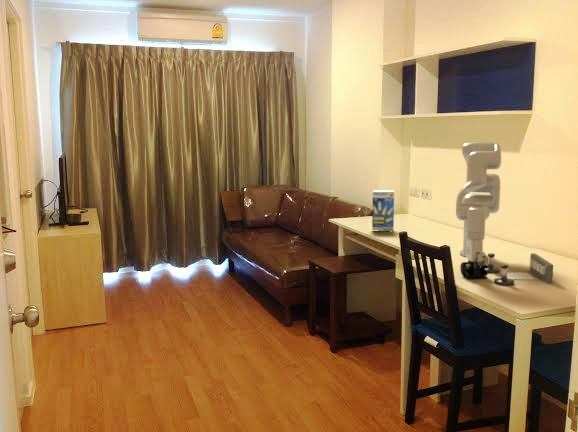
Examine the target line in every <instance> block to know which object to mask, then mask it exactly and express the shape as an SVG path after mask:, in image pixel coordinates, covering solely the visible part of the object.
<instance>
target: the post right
mask: <svg viewBox="0 0 578 432" xmlns="http://www.w3.org/2000/svg"><path fill="white" fill-rule="evenodd" d="M500 268H501V269H500V271H501V272H500V273H501V274H500V277H497V278H496V277H495V278H494V279H493V283H494V285H497V286H503V287H508V286H510V287H511V286H513V285H515V280H511V279H508V278H507V273H508V269H509V264H503V263H502V264H500Z"/></svg>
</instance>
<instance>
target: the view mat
mask: <svg viewBox="0 0 578 432" xmlns="http://www.w3.org/2000/svg"><path fill="white" fill-rule="evenodd" d="M499 274H500V275H501V272H499ZM507 278H508V279H511V280H513V281H526V280H527V281H533V280H534V281H536V280H537V279H536V278H535V277H534V276H532V274H530V273H528V272H507Z"/></svg>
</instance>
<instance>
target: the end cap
mask: <svg viewBox="0 0 578 432" xmlns="http://www.w3.org/2000/svg"><path fill="white" fill-rule="evenodd" d="M473 267H474V262H468V261H462V262H461V263H460V266H459V268H460V269H459V270H460V273H461V275H462V276H463V278H465V279H466V280H481V279H483V280H485V279H487V278H488V274H489V273H488V272H487V271H485V268H486V269H488V264H486V263H485V261H484V260H482V261H481V276H473Z"/></svg>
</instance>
